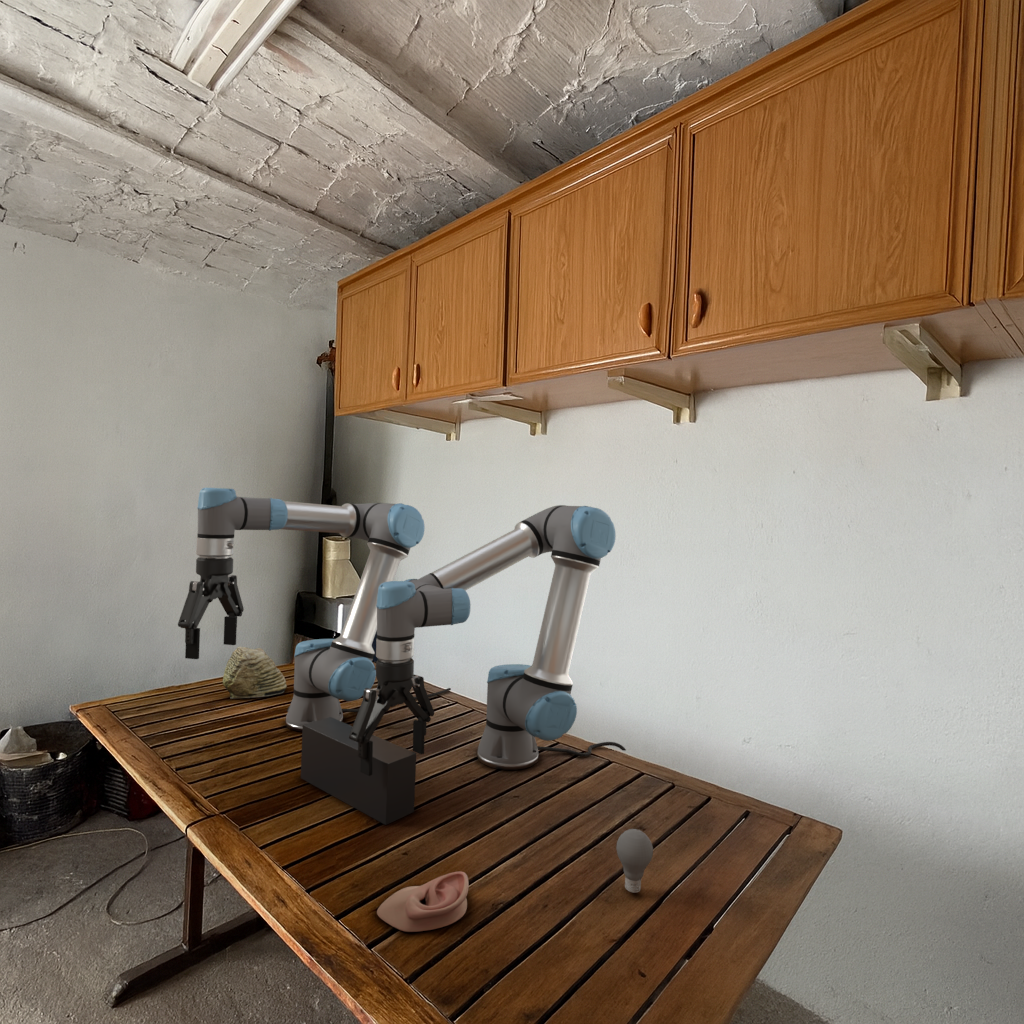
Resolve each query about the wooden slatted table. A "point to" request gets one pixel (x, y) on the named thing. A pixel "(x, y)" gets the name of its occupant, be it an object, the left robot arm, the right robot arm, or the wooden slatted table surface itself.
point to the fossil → (252, 674)
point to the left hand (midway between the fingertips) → (211, 651)
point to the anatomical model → (427, 904)
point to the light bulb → (634, 857)
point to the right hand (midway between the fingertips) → (393, 762)
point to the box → (338, 770)
